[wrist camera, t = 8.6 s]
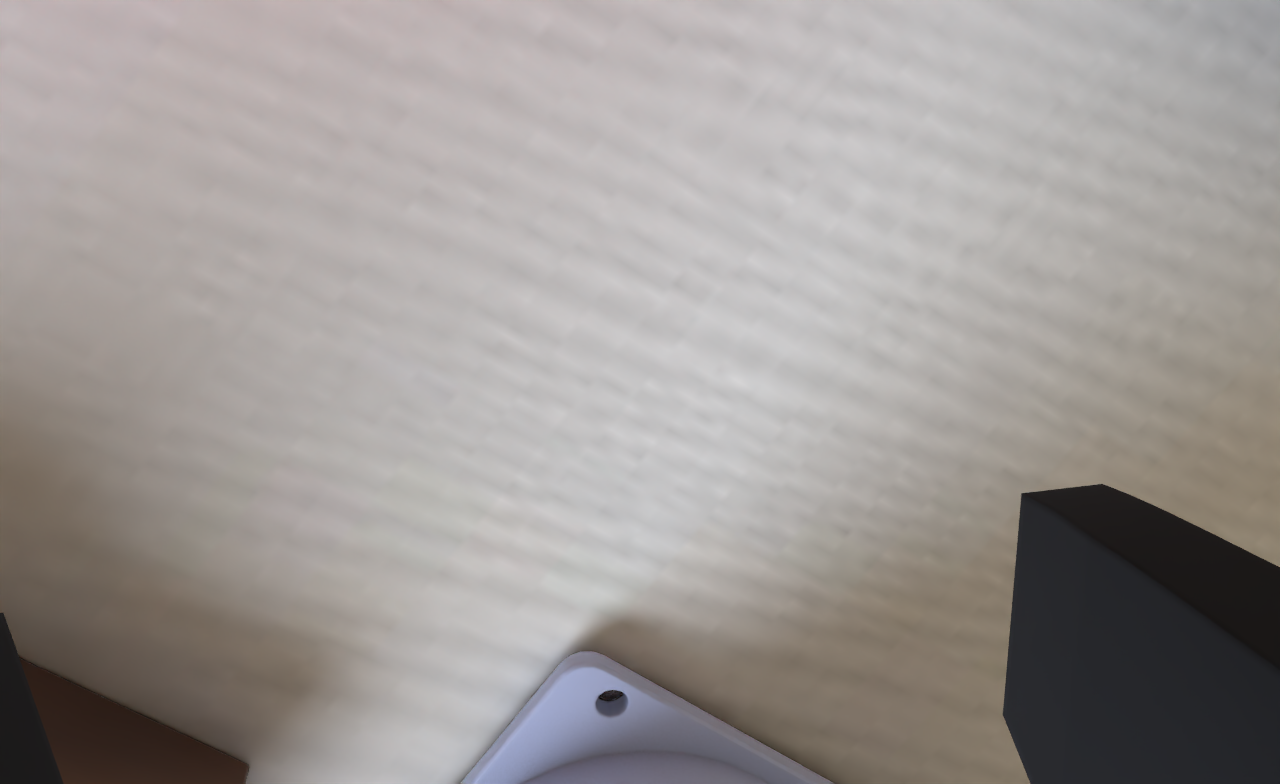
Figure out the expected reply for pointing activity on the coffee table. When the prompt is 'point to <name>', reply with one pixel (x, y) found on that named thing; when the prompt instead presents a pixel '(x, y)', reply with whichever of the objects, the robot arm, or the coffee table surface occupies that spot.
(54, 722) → the button block
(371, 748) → the coffee table surface
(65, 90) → the coffee table surface
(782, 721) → the coffee table surface
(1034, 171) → the coffee table surface
